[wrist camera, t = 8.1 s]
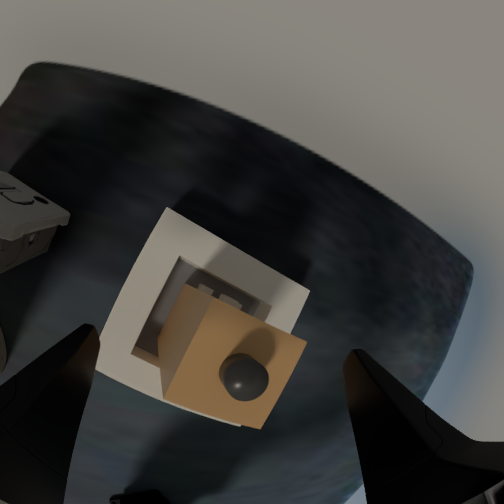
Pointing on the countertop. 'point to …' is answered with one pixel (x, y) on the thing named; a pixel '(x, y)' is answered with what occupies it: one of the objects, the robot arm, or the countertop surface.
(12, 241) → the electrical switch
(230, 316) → the plug
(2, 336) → the thermos bottle
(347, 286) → the countertop surface
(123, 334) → the socket block
